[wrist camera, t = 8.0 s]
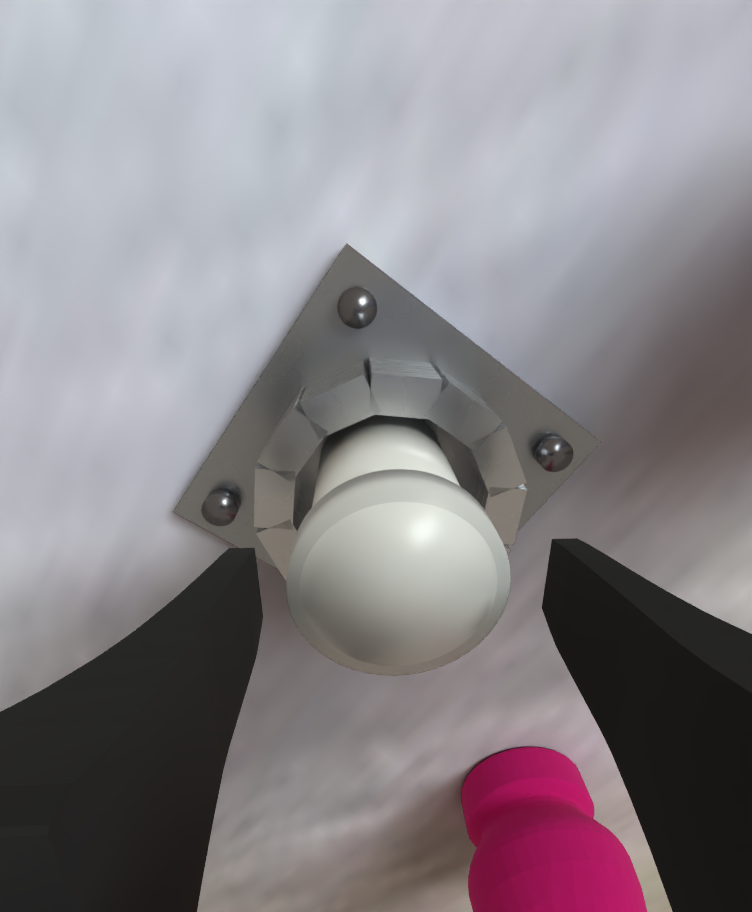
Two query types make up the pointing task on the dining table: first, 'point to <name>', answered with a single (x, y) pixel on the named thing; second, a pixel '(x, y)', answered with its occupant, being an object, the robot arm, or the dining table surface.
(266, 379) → the flange
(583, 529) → the dining table surface
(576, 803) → the pepper mill
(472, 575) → the white knob
